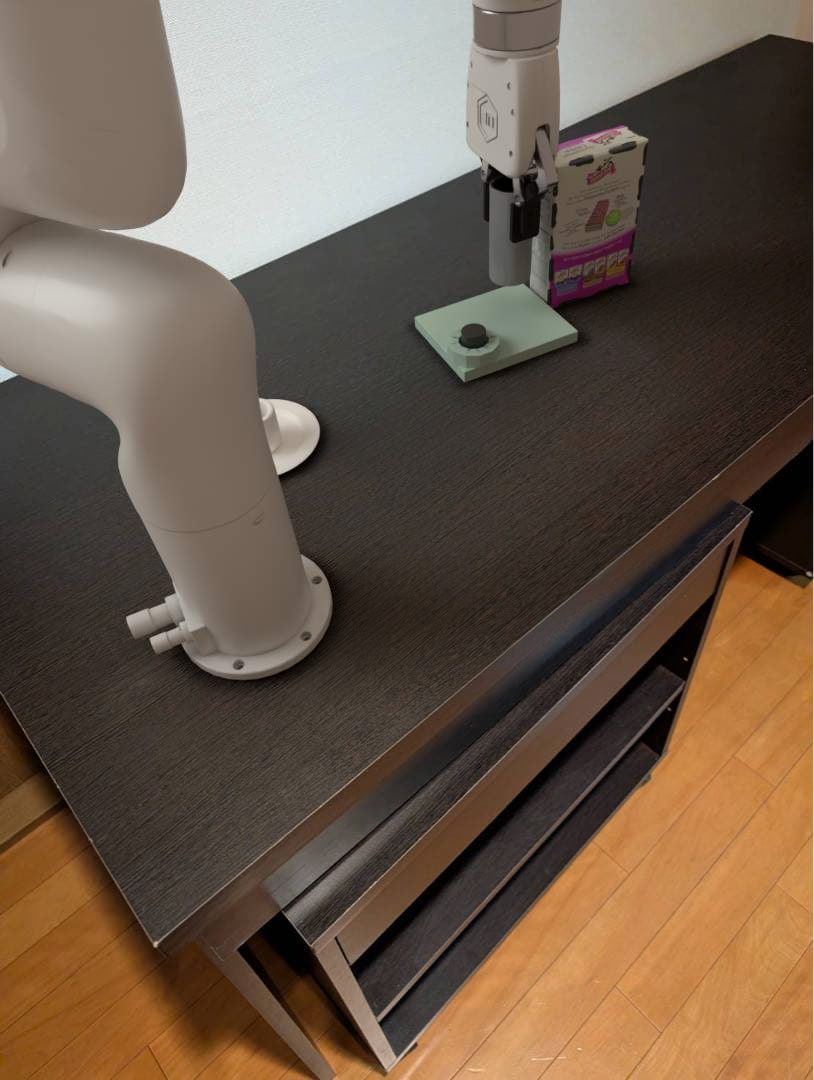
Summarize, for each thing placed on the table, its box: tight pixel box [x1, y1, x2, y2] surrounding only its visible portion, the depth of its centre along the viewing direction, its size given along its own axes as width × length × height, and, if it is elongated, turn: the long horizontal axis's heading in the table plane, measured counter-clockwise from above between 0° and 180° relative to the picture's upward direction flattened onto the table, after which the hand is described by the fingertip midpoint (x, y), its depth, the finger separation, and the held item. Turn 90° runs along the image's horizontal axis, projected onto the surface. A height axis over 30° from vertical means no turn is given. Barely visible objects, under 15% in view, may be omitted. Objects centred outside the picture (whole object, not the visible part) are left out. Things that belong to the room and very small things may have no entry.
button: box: [461, 323, 486, 349], centre depth 80 cm, size 3×3×2 cm
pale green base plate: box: [414, 283, 579, 383], centre depth 84 cm, size 14×12×3 cm
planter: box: [488, 173, 533, 287], centre depth 80 cm, size 4×4×10 cm
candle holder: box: [259, 397, 321, 476], centre depth 75 cm, size 12×12×4 cm
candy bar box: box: [528, 125, 649, 310], centre depth 84 cm, size 11×5×16 cm, turn 114°
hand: (510, 226), depth 79 cm, fingers closed on planter, 4 cm apart
